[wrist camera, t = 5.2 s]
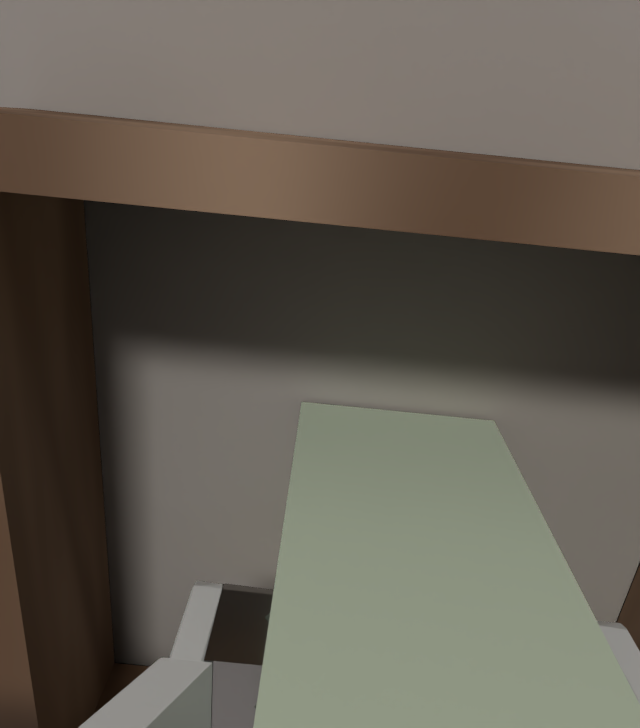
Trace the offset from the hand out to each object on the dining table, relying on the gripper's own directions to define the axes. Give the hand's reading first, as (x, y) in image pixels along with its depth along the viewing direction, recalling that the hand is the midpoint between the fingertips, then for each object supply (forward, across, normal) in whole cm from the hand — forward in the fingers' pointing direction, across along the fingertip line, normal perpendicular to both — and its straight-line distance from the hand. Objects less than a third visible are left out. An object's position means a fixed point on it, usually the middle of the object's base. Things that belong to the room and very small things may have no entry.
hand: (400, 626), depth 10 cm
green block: (+4, 0, 0) cm, 4 cm away
